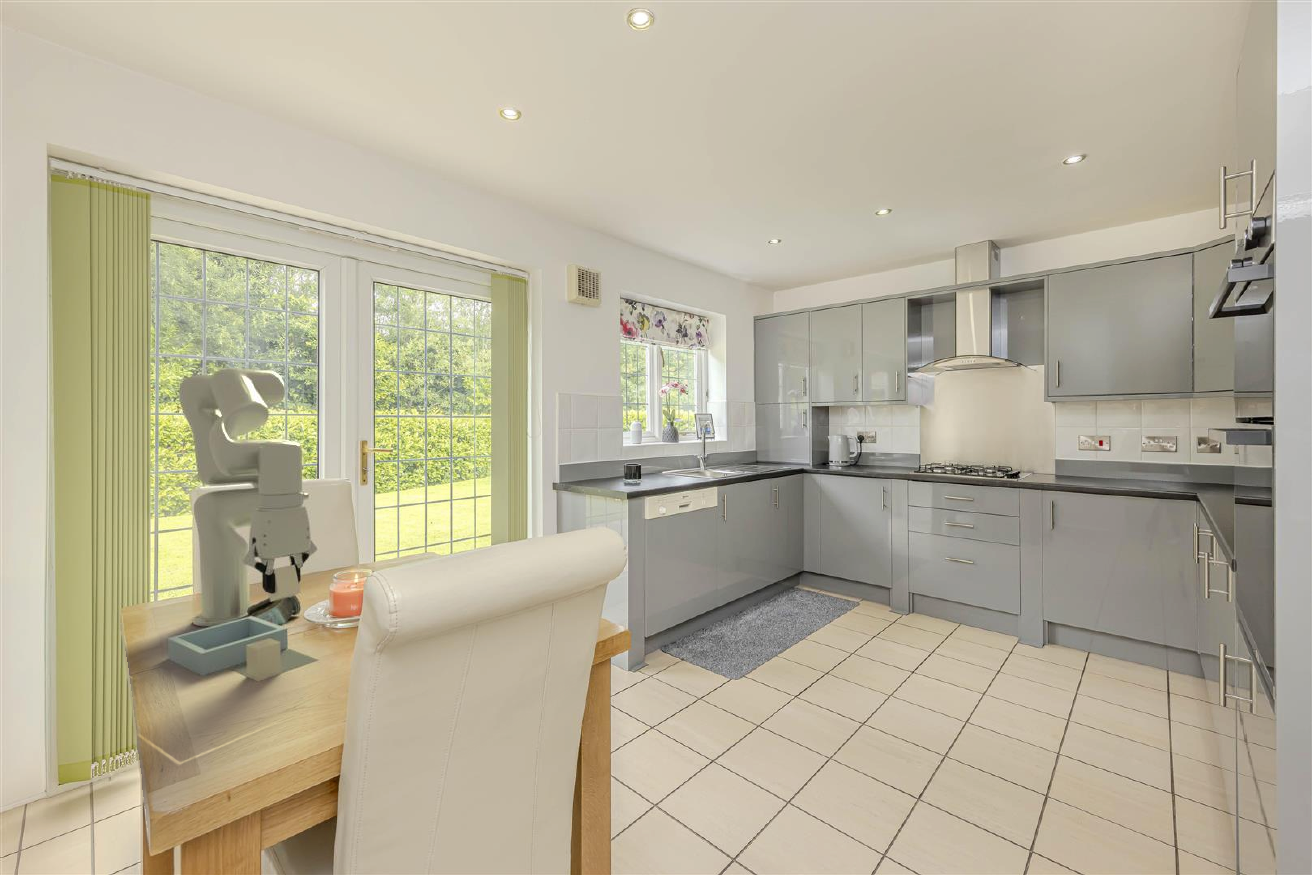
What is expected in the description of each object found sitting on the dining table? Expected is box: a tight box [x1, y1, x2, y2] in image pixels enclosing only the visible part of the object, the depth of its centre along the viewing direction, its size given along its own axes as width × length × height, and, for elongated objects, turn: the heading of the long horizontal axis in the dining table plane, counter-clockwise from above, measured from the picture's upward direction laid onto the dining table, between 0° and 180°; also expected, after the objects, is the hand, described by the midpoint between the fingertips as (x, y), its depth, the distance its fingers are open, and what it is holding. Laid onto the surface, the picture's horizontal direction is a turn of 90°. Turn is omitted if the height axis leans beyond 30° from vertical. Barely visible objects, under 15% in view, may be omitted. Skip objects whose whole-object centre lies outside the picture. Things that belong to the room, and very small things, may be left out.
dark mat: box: [228, 648, 318, 682], centre depth 112 cm, size 11×11×1 cm
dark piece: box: [247, 595, 301, 626], centre depth 137 cm, size 10×7×12 cm
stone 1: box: [246, 638, 282, 682], centre depth 108 cm, size 4×4×6 cm
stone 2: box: [268, 565, 301, 602], centre depth 117 cm, size 4×4×6 cm
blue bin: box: [167, 616, 289, 677], centre depth 118 cm, size 15×15×4 cm
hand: (281, 588), depth 117 cm, fingers closed on stone 2, 3 cm apart
